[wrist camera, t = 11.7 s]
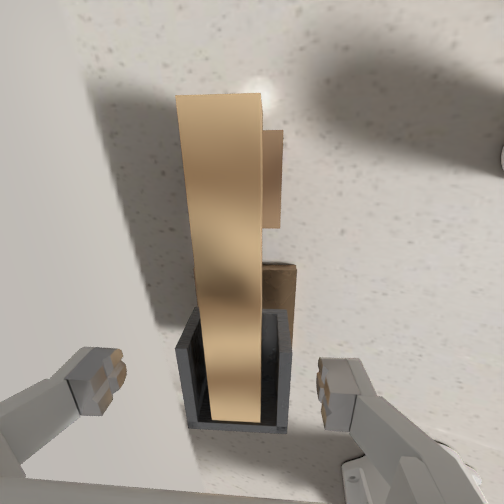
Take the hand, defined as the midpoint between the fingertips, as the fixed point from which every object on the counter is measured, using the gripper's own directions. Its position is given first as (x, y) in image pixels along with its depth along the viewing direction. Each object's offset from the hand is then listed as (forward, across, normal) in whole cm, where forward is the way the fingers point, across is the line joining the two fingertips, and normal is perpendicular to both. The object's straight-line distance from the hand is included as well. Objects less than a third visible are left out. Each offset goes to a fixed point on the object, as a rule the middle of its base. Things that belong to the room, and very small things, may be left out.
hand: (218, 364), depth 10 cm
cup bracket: (+15, 0, +7) cm, 16 cm away
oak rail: (+8, 0, 0) cm, 9 cm away
